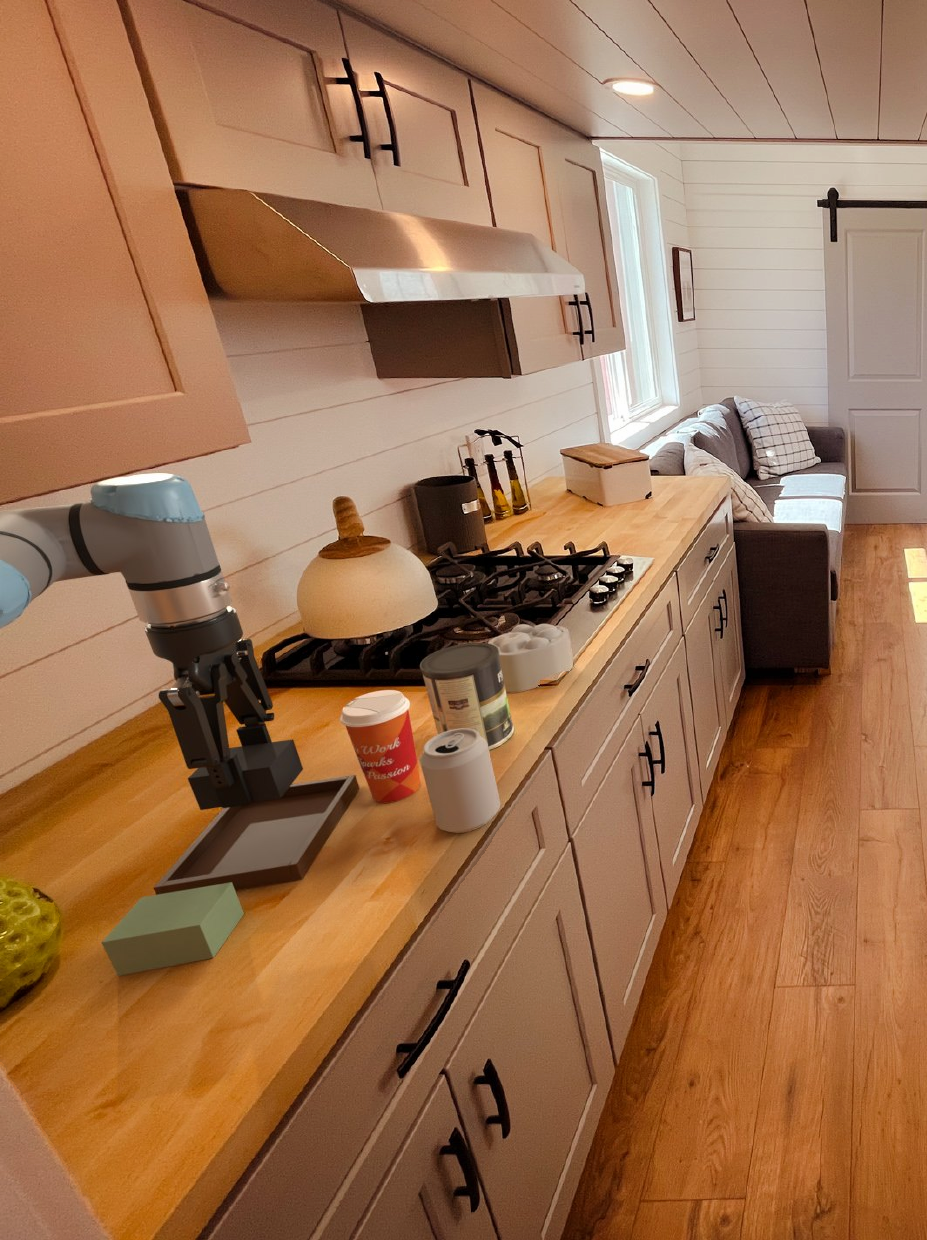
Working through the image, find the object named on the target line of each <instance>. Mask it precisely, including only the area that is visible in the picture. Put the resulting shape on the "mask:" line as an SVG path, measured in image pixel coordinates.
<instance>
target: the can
mask: <svg viewBox="0 0 927 1240" xmlns="http://www.w3.org/2000/svg"><path fill="white" fill-rule="evenodd" d="M422 750H423V752H422V754H421V756H420V758H419V763H420V767H421V770H422V774H423V778H424V782H425V783H424V784H425V786H426V790H427V793H428V798H429V802H430V805H431V810H432V814H433V817H434V821H435V825H436V827H437V828H438V829H440V830H441V831H444V832H449V833H453V834H462V833H466V832H467V833H468V832H471V831H474V830H477V829H479V828H481V827H484V826H485V825H486V824H487V823H488V822H490V821H491V820H492V818H493V817H494V816H496V814H497V813H498V811H499V810H500V807H501V799H500V795H499V790H498V785H497V782H496V776H495V772H494V767H493V762H492V758H491V754H490V750H489V748H488V744H487V741H486V740H485V739H484V738H482V737H481V736H480V734H479V732H477V731H476V730H474V729H469V728H460V729H453V730H449V731H446V732H443V733H441V734H438V733H437V734H436V735H435V736H433V737H431V738H430V739H428V741H426V743H425V744H424V745H423V748H422Z"/></svg>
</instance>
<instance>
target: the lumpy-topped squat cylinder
mask: <svg viewBox="0 0 927 1240" xmlns="http://www.w3.org/2000/svg"><path fill="white" fill-rule="evenodd" d="M487 643H488V644H492V645H495V646H496V647H497V648H498V650H499V660H500V664H501V669H502V674H503V679H504V684H505V689H506V693H510V694H511V693H522V692H526V691H529V690H533V689H536V687H537V688H540V687H539V686H538V685H540V684H539V682H540V680H541V679H543V678H545V677H548V676H550V675H553V674H556V673H558V672H561V671H570V670H571V668H572V666H573V660H574V655H573V649H572V643H571V636H570V631H569V629H568V628H567V627H565V626H562V625H552V624H549V623H540V624H538V625H534V626H532V625H529V624H527V623H526V624H525V623H522V624H517V625H516V626H514V627H513V628H512V629H511V631H510V632H507V633H503V634H500V635H498V636H495V637H494V638H492V639H490V640H489V641H488V642H487ZM571 671H572V670H571ZM571 671H570V672H571Z"/></svg>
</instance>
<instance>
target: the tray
mask: <svg viewBox="0 0 927 1240" xmlns="http://www.w3.org/2000/svg"><path fill="white" fill-rule="evenodd" d="M359 790H360V786H359V782H358V778H357V775H356V774H352V775H345V776H338V777H332V778H324V779H318V780H316V779H315V780H310V781H302V782H296V783H292V784H291V786H290V787H289V788H288V789H287V791H286V792H285V793H284V795H283V796H282V797H281V798H279V799H272V800H265V801H259V802H252V803H251V804H249V805H243V806H236V807H229V808H222V809H221V810H220V811H219V812H218V813H217V815H216V816H215V817H214V818H213V819H212V820H211V821H210V823H209V824H208V825H207V826H206V827H205V828H204V829H203V830H202V831H201V833H200V834H199V835H198V836H197V837H196V839H194V840H193V842H192V843H191V844H190V845H189V847H188V848H187V849H186V850H185V851H184V852H183V853H182V855H181V856H180V857H179V858H178V859H177V860H176V861H175V863H173V865H172V866H171V867H170V868H169V870H167V871H166V872H165V874H164V875H163V876H162V877H161V879H159V880H158V882H157V883H156V884H155V885H154V886H153V890H154V892H155V895H159V894H165V893H171V892H177V891H183V890H189V889H194V888H200V887H206V886H212V885H218V884H224V883H230V882H232V884H233V886H234V889H235V892H237V891H242V890H249V889H254V888H259V887H265V886H270V885H277V884H282V883H289V882H293V881H301V880H303V879H304V877H305V875H306V874H307V872H308V870H309V869H310V867H311V866H312V865H313V863H314V861H315V860H316V858H317V857H318V855H319V853H320V852H321V851H322V849H323V847H324V845H325V844H326V842H327V840H328V839H329V838H330V836H331V834H332V833H333V831H334V829H336V826H337V825H338V823H339V822H340V820H341V818H342V817H343V816H344V814H345V812H346V811H347V809H348V807H349V806H350V805H351V802H352V801H353V800H354V798H355V797H356V795H357V794H358V792H359Z"/></svg>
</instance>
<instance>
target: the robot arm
mask: <svg viewBox="0 0 927 1240" xmlns="http://www.w3.org/2000/svg"><path fill="white" fill-rule="evenodd" d="M89 493H90V496H91V497H90V498H89V499H90V500H89V501H84V502H80V503H72V504H61V505H51V506H39V507H29V508H18V509H6V510H0V630H1V629H2V628H4V627H7V626H9V625H11V623H13V622H15V620H16V619H18V618H19V617H21V616H22V614H23V613H24V611H25V610H26V608H28V606H29V605H30V604H31V603H32V602H33V601H34V600H35V599H37V598H38V597H39V596H40V595H42V594H43V593H44V592H45V591H46V590H47V589H48V588H49V587H51V586H52V585H53V584H54V583H56V582H63V581H68V580H77V579H82V578H91V577H98V576H105V575H109V574H115V573H120V574H121V575H122V577H123V578H124V581H125V583H126V586H127V589H128V592H129V595H130V597H131V600H132V602H133V605H134V607H135V611H136V613H137V616H138V620H139V621H140V622H142V623H145V626H144V632H145V635H146V637H147V640H148V643H149V646H150V648H151V650H152V653H153V655H155V656H156V657H157V658H159V659H163V660H167V661H168V662H170V663H172V667H173V668H172V669H173V679H174V681H175V682H174V684H173V686H172V687H171V688H167V689H161V690H160V691H159V692H158V699H159V700H160V702H161V704H162V705H163V706H164V708H165V709H166V710H167V712H168V716H169V718H170V722H171V724H172V727H173V730H174V733H175V736H176V738H177V742H178V744H179V748H180V750H181V753H182V756H183V760H184V762H185V765H186V768H187V769H188V770H195V769H198V768H203V767H206V769H207V771H208V774H209V776H210V778H211V781H212V784H213V786H214V787H215V790H216V792H217V795H218V798H219V800H220V803H221V805H222V807H221V808H222V809H223V808H229V807H236V806H243V805H249V804H251V803H252V802H253V798H252V795H251V793H250V790H249V787H248V785H247V782H246V779H245V777H244V774H243V771H242V768H241V765H240V762H239V760H238V757H237V754H235V755H230V750H229V748H230V744H229V737H228V736H229V735H228V728H227V722H226V713H225V708H224V703H225V705H226V706H227V707H228V710H229V711H230V712H231V713H232V715H233V716H234V718H235V719H236V720H237V722H238V723H239V724H240V725H241V726H239V727H237V728H236V730H235V731H236V734H237V736H238V740H239V742H240V745H241V746H247V745H255V744H262V743H270V742H273V741H272V738H271V736H270V732H269V729H268V727H267V724H266V722H273V721H274V720H275V712H267V711H271V710H273V707H274V704H273V701H272V698H271V696H270V693H269V690H268V688H267V685H266V683H265V680H264V678H263V675H262V672H261V670H260V668H259V665H258V662H257V659H256V656H255V652H254V646H253V645H254V644H253V640H252V639H251V638H242V637H243V635H244V630H243V627H242V625H241V622H240V618H239V616H238V613H237V610H236V608H235V607H232V606H230V605H231V604H232V597H231V594H230V592H229V590H230V587H231V586H230V584H229V583H228V582H226V580H225V577H224V574H223V572H222V567H221V564H220V562H219V558H218V555H217V553H216V550H215V546H214V544H213V540H212V537H211V534H210V531H209V528H208V524H207V521H206V516H205V512H204V510H202V509H201V507H200V504H199V501H198V500H197V497H196V495H195V493H194V490H193V488H192V486H191V483H190V482H189V480H187V479H186V478H184V477H182V476H181V475H177V474H172V473H144V474H134V475H133V474H132V475H129V476H120V477H113V478H109V479H104V480H101V481H99V482H95V483H94V484H93V485H92V486H91V487H90V492H89ZM243 725H244V726H243Z"/></svg>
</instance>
